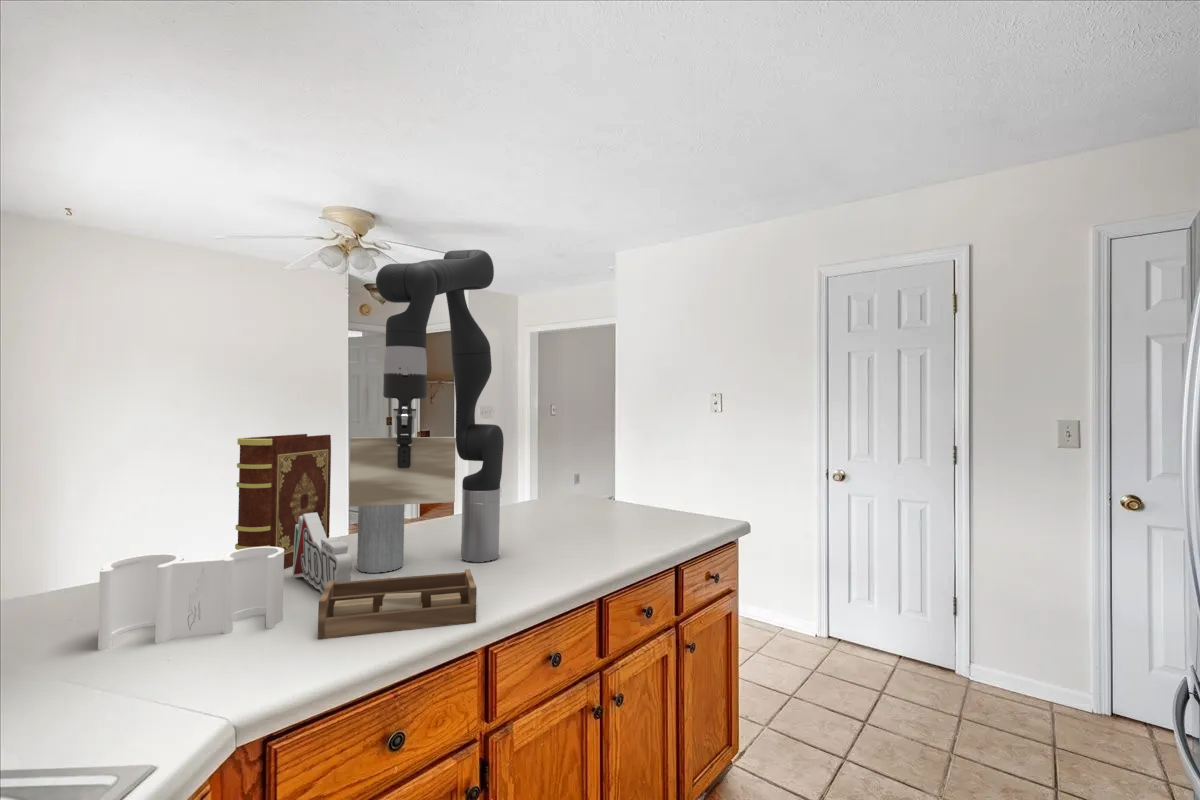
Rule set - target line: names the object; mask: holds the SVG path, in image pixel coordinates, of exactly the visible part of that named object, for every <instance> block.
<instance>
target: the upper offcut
mask: <svg viewBox="0 0 1200 800" xmlns="http://www.w3.org/2000/svg"><path fill="white" fill-rule="evenodd" d="M420 605H421V592H419V593H396V594H385V596H384V597H383V605H382V611H387V610H408V609H419V608H420Z"/></svg>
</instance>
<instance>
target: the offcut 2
mask: <svg viewBox="0 0 1200 800" xmlns="http://www.w3.org/2000/svg"><path fill="white" fill-rule="evenodd" d="M450 605H461V597H460V593H452V594H441V595H431V607H440V606H450Z"/></svg>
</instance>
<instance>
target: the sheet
mask: <svg viewBox="0 0 1200 800" xmlns="http://www.w3.org/2000/svg"><path fill="white" fill-rule="evenodd" d="M400 438H407V437H400ZM349 440H350V442H349V444H350V445H349V447H350V448H349V493H348V494H349V498H348V499H349V501H348V502H349V503H348V507H349V508H350V507H353V508H354V507H358V506H377V505H401V504H405V505H418V504H419V505H421V504H423V505H424V504H440V503H441V504H443V503H455V501H456V500H455V499H456V497H455V496H456V491H455V490H456V436H436V437H435V436H434V437H433V436H427V437H425V436H422V437H421V436H419V437H418V436H416V437H415V436H412V438H411V440H412V445H411V461H410V467H409V468H398V466H397V465H398V447H397V445H396V440H397V436H395V437H381V436H380V437H379V436H378V437H351V438H350V439H349Z"/></svg>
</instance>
